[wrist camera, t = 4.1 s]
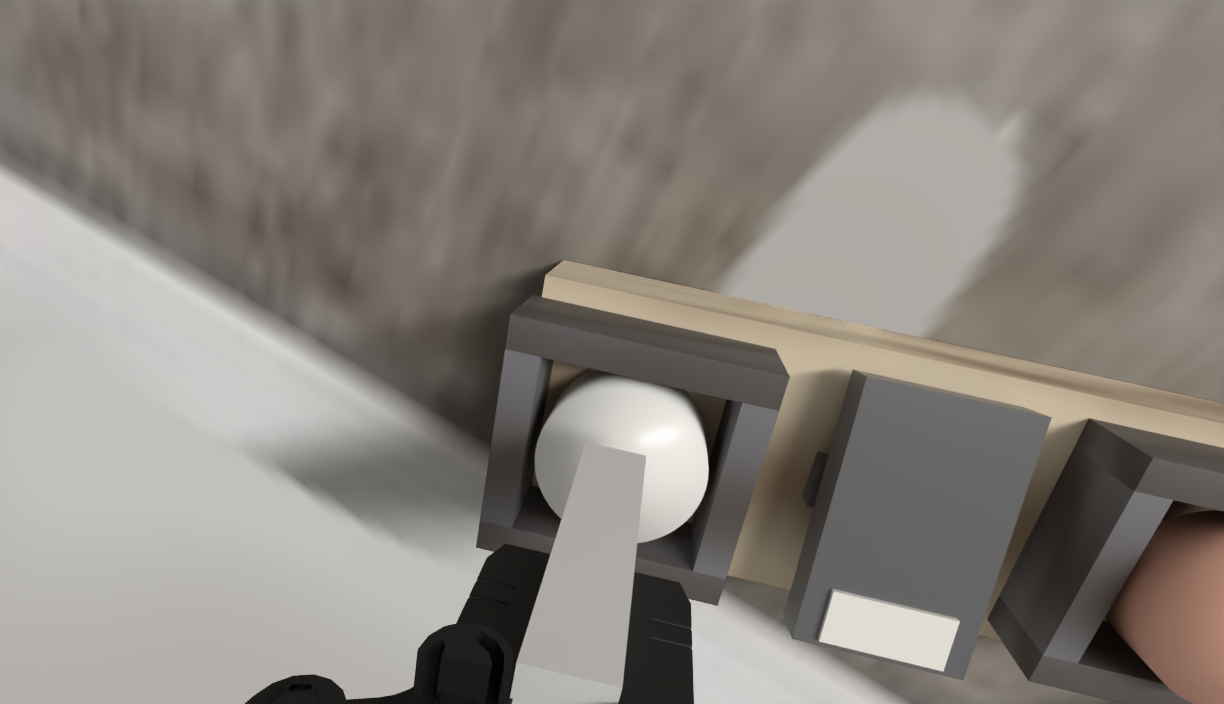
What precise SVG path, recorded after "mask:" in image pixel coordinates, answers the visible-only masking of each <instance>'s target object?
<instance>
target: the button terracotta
mask: <svg viewBox="0 0 1224 704" xmlns="http://www.w3.org/2000/svg"><path fill="white" fill-rule="evenodd" d="M1105 617H1106V619H1107V621H1108V622H1109V624H1110V625H1111V627H1112V628H1113V629H1114V630H1115V631H1116V632H1117V633H1118V634H1119V635H1120V636H1121V637H1122V638H1123V640H1124V641H1125V642H1126V643H1127V644H1128V645H1129V646H1130V647H1131V648H1132V649H1133V650H1134V651H1135V652H1136V654H1137V655H1138V656H1139V657H1140V658H1141V659H1142V660H1143V661H1144V662H1145V663H1146V664H1147V665H1148V666H1149V667H1150V669H1151V670H1152V671H1153V672H1154V673H1155V674H1156V675H1157V676H1158V677H1159V678H1160V679H1161V680H1162V681H1163V682H1164V684H1165V685H1166V686H1167V687H1168V688H1169V689H1170V690H1171V691H1173V692H1174V693H1175V694H1176V695H1178V696H1179V697H1181V698H1183V699H1184V700H1186V701H1188V702H1190V703H1192V704H1224V511H1220V510H1212V511H1199V512H1192V513H1187V514H1183V515H1179V516H1176V517H1173V518H1170V519H1167V520H1164V521H1162V522H1160V524H1159V526H1158V527H1157V529H1156V531H1155V532H1154V534H1153V536H1152V538H1151V539H1150V541H1149V543H1148V544H1147V546H1146V548H1145V549H1144V551H1143V553H1142V555H1141V556H1140V558H1139V560H1138V561H1137V563H1136V565H1135V567H1134V568H1133V570H1132V572H1131V573H1130V575H1129V577H1128V578H1127V580H1126V582H1125V584H1124V585H1123V587H1122V589H1121V590H1120V592H1119V594H1118V596H1117V597H1116V599H1115V601H1114V602H1113V604H1112V606H1111V608H1110V609H1109V611H1108V613H1107V614H1106V616H1105Z"/></svg>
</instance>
